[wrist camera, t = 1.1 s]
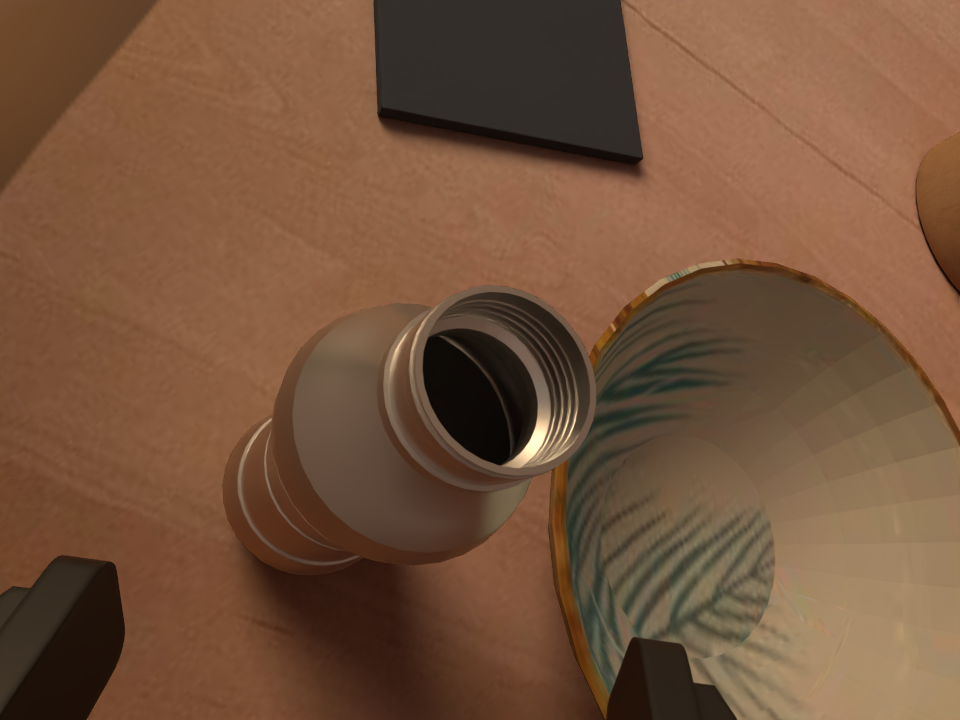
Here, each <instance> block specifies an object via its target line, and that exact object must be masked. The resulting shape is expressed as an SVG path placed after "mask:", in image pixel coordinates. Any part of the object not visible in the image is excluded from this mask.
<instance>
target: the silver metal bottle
mask: <svg viewBox="0 0 960 720" xmlns="http://www.w3.org/2000/svg"><path fill="white" fill-rule="evenodd" d="M595 407H596V383H595V377H594V372H593V367H592V365H591V362H590V359H589V356H588V353H587V351H586V349H585V347H584V345H583V344H582V342H581V340H580V338H579V336H578V335H577V333H576V332H575V331H574V329H573V328H572V327H571V326H570V324H569V323H568V322H567V321H566V320H565V319H564V318H563V317H562V316H561V315H560V314H559V313H558V312H557V311H556V310H555V309H554V308H552V307H551V306H549V305H548V304H547V303H545V302H544V301H542V300H541V299H539V298H537V297H535V296H533V295H531V294H529V293H526V292H524V291H522V290H518V289H514V288H510V287H506V286H491V285H487V286H480V287H473V288H470V289H467V290H464V291H462V292H459V293H456V294H454V295H451V296H449V297H448V298H446V299H445V300H443V301H442V302H441V303H439V304H438V305H436V306H435V307H430V306H426V305H422V304H401V303H397V304H391V305H384V306H377V307H372V308H367V309H363V310H359V311H357V312H354V313H351V314H349V315H346V316H343V317H340V318H338V319H337V320H335V321H333V322H332V323H330V324H329V325H327V326H326V327H324V328H322V329H321V330H319V331H318V332H317V333H316V334H315V335H314V336H313V337H312V338H311V339H310V340H309V341H308V342H307V343H306V344H305V345H304V346H302V347H301V348H300V350H299V351H298V353H297V355H296V356H295V358H294V359H293V361H292V362H291V364H290V366H289V367H288V369H287V371H286V373H285V376H284V379H283V381H282V384H281V387H280V390H279V392H278V395H277V398H276V400H275V403H274V410H273V414H272V415H270V416H267V417H266V418H264V419H263V420H261V421H260V422H258V423H257V424H255V425H254V426H252V427H251V428H250V429H249V430H248V431H247V432H246V433H245V434H244V436H243V437H242V438H241V439H240V440H239V442H238V443H237V445H236V446H235V448H234V449H233V451H232V453H231V455H230V458H229V460H228V463H227V465H226V468H225V474H224V480H223V503H224V507H225V510H226V514H227V518H228V521H229V523H230V525H231V527H232V529H233V531H234V533H235V534H236V536H237V537H238V539H239V540H240V541H241V542H242V544H243V545H244V546H245V547H246V549H247V550H248V551H250V552H251V553H252V554H253V555H255V556H256V557H257V558H258V559H260V560H261V561H262V562H264V563H266V564H268V565H270V566H272V567H274V568H276V569H278V570H282V571H285V572H289V573H292V574H299V575H311V576H312V575H321V574H329V573H332V572H335V571H338V570H341V569H345V568H347V567H348V566H350V565H352V564H354V563H356V562H357V561H359V560H361V559H362V558H363V557H364V558H368V559H371V560H374V561H377V562H386V563H394V564H405V565H422V564H431V563H439V562H443V561H446V560H449V559H452V558H455V557H458V556H461V555H463V554H465V553H467V552H469V551H470V550H472V549H474V548H475V547H477V546H479V545H480V544H482V543H484V542H485V541H486V540H487V539H488V538H489V537H490V536H492V535H493V534H494V533H495V532H496V531H497V530H498V529H499V528H500V527H501V526H502V525H503V524H504V523H505V522H506V520H507V519H508V518H509V517H510V516H511V514H512V513H513V512H514V510H515V509H516V507H517V506H518V504H519V503H520V502H521V500H522V499H523V497H524V495H525V493H526V491H527V488H528V486H529V484H530V481H531V479H532V477H534V476H537V475H541V474H544V473H546V472H548V471H550V470H552V469H554V468H555V467H557V466H559V465H560V464H562V463H563V462H565V461H566V460H567V459H568V458H569V457H570V456H571V455H572V454H574V453H575V452H576V451H577V450H578V448H579V447H580V445H581V444H582V442H583V441H584V439H585V438H586V436H587V434H588V432H589V429H590V427H591V424H592V422H593V418H594V412H595Z"/></svg>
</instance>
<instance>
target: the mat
mask: <svg viewBox="0 0 960 720" xmlns="http://www.w3.org/2000/svg"><path fill="white" fill-rule="evenodd" d="M374 23H375V50H376V77H377V104H378V116H381V117H386V118H392V119H397V120H402V121H407V122H413V123H418V124H423V125H428V126H434V127H439V128H444V129H450V130H455V131H460V132H465V133H471V134H476V135H481V136H486V137H492V138H497V139H502V140H507V141H513V142H518V143H523V144H529V145H534V146H539V147H544V148H550V149H555V150H560V151H565V152H571V153H576V154H581V155H586V156H592V157H597V158H602V159H608V160H613V161H618V162H623V163H629V164H634V165H635V164H637V163H638V162H639V161H641V160H642V159H643V155H642V148H641V141H640V134H639V127H638V120H637V113H636V106H635V99H634V92H633V85H632V78H631V71H630V64H629V57H628V50H627V43H626V36H625V29H624V22H623V15H622V8H621V1H620V0H374Z"/></svg>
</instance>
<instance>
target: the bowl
mask: <svg viewBox="0 0 960 720" xmlns="http://www.w3.org/2000/svg"><path fill="white" fill-rule="evenodd" d="M589 359H590V362H591V365H592V367H593V372H594V377H595V383H596V407H595V412H594V418H593V422H592V424H591V427H590V429H589V432H588V434H587V436H586V438H585V439H584V441H583V442H582V444H581V445H580V447H579V448H578V450H577V451H576V452H575V453H574V454H572V455H571V456H570V457H569V458H568V459H567V460H566V461H565V462H563V463H562V464H560V465H559V466H557V467H555V468H554V469H552V476H551V492H550V508H549V525H548V531H549V540H550V549H551V559H552V568H553V577H554V586H555V590H556V593H557V597H558V600H559V604H560V608H561V611H562V615H563V618H564V622H565V626H566V629H567V633H568V636H569V640H570V644H571V647H572V650H573V653H574V656H575V658H576V660H577V662H578V664H579V666H580V668H581V671H582V673H583V675H584V677H585V679H586V681H587V683H588V685H589V688H590V690H591V692H592V694H593V696H594V698H595V700H596V703H597V705H598V707H599V709H600V711H601V713H602V715H603V717H604V719H605V720H606V715H607V707H608V701H609V697H610V694H611V691H612V689H613V686H614V683H615V680H616V678H617V675H618V672H619V669H620V667H621V664H622V661H623V658H624V656H625V653H626V650H627V648H628V645H629V642H630V641H631V639H632V638H633V637H639V638H646V639H653V640H660V641H667V642H674V643H680V644H682V645H683V646H684V648H685V650H686V653H687V656H688V661H689V665H690V669H691V673H692V678H693V682H694V683H701V684H708V685H715V686H716V688H717V689H718V691H719V692H720V694H721V695H722V697H723V698H724V700H725V701H726V703H727V704H728V706H729V707H730V709H731V710H732V712H733V713H734V715H735V716H736V718H737V720H960V431H959V429H958V427H957V425H956V423H955V421H954V419H953V418H952V416H951V414H950V412H949V410H948V408H947V406H946V404H945V402H944V400H943V399H942V397H941V396H940V394H939V393H938V391H937V390H936V389H935V387H934V386H933V384H932V383H931V381H930V380H929V378H928V377H927V376H926V374H925V373H924V371H923V370H922V368H921V367H920V365H919V364H918V362H917V361H916V360H915V359H914V357H913V356H912V355H911V354H910V353H909V352H908V351H907V350H906V349H905V347H904V346H903V345H902V344H901V343H900V342H899V341H898V340H897V339H896V338H895V336H894V335H893V334H892V333H891V332H890V331H889V330H888V329H887V328H886V326H885V325H883V324H882V323H881V322H880V321H878V320H877V319H876V318H875V317H874V316H872V315H871V314H870V313H869V312H868V311H866V310H865V309H864V308H863V307H862V306H860V305H859V304H858V303H857V302H855V301H854V300H853V299H852V298H851V297H849V296H847V295H845V294H844V293H842V292H840V291H838V290H837V289H835V288H833V287H832V286H830V285H828V284H826V283H825V282H823V281H821V280H819V279H818V278H816V277H814V276H811V275H808V274H806V273H803V272H800V271H797V270H794V269H791V268H788V267H785V266H783V265H780V264H777V263H770V262H761V261H752V260H744V259H731V260H723V261H716V262H708V263H701V264H696V265H694V266H691V267H689V268H686V269H684V270H682V271H679V272H677V273H674V274H672V275H670V276H667V277H665V278H663V279H660V280H659V281H657V282H656V283H655V284H653V285H652V286H651V287H650V288H648V289H647V290H646V291H644V292H643V293H642V294H641V295H639V296H638V297H637V298H635V299H634V300H633V301H632V302H630V303H629V304H628V305H626V306H625V307H624V308H623V310H622V311H621V312H620V313H619V315H618V316H617V317H616V319H615V320H614V321H613V322H612V324H611V325H610V326H609V327H608V329H607V330H606V331H605V333H604V334H603V335H602V336H601V338H600V339H599V340H598V342H597V343H596V344H595V345H594V347H593V350H592V352H591V354H590V356H589Z"/></svg>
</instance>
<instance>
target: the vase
mask: <svg viewBox="0 0 960 720" xmlns="http://www.w3.org/2000/svg"><path fill="white" fill-rule="evenodd" d="M916 196H917V206H918V211H919V216H920V220H921V224H922V227H923V230H924V233H925V236H926V238H927V241H928V243H929V245H930V248H931V250H932V252H933V254H934V256H935V258H936V259H937V261H938V263H939V265H940V266H941V268H942V269H943V271H944V272H945V274H946V275H947V277H948V278H949V279H950V281H951V282H952V283H953V284H954V286H955V287H956V288H957V289H958V290H959V291H960V132H959V133H957V134H955V135H953V136H951V137H950V138H948V139H946V140H944V141H943V142H941V143H939V144H938V145H936V146H935V147H934V148H932V149H931V150H930V151H929V152H928V153H927V155H926V156H925V157H924V159H923V161H922V163H921V165H920V168H919V171H918V175H917V183H916Z"/></svg>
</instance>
